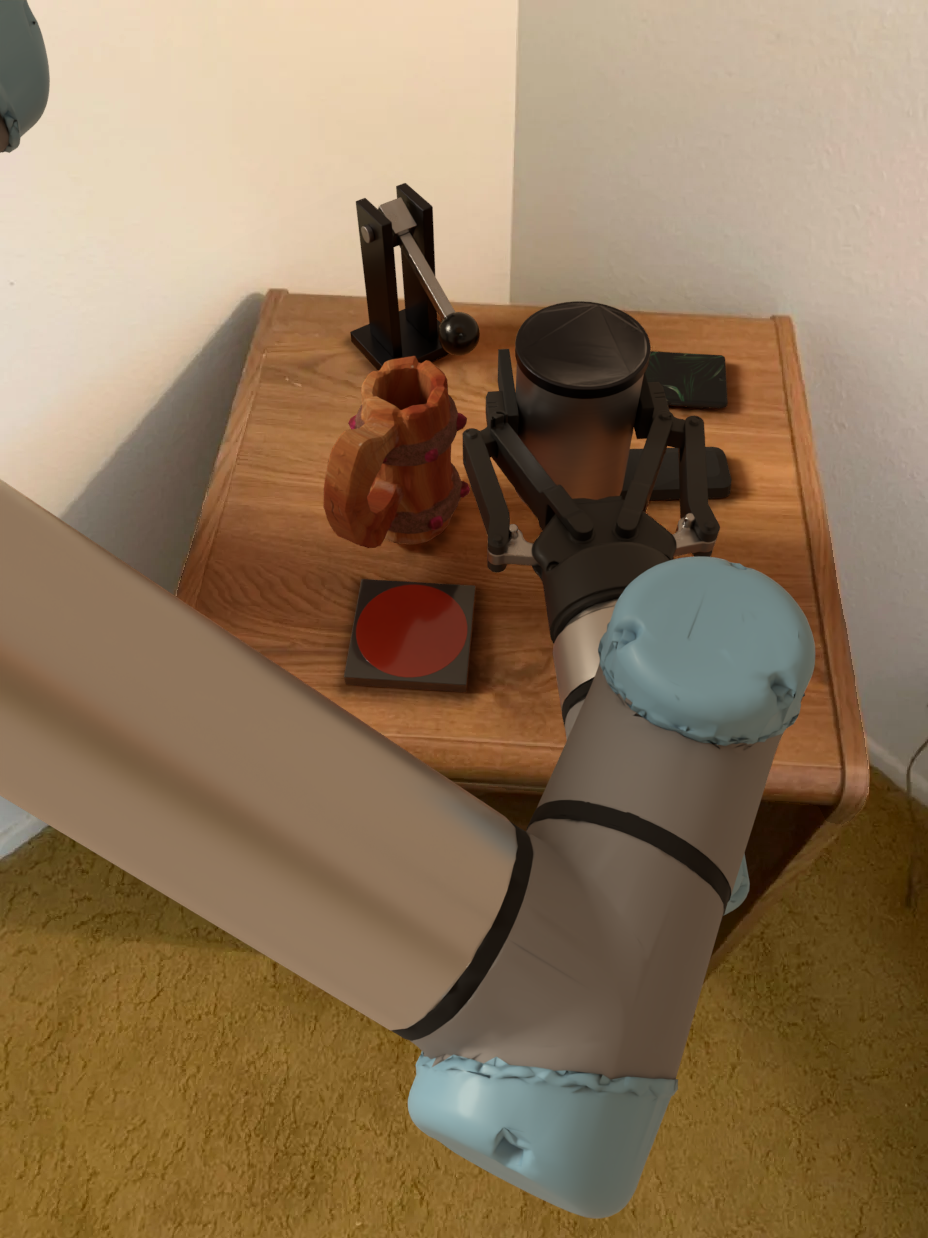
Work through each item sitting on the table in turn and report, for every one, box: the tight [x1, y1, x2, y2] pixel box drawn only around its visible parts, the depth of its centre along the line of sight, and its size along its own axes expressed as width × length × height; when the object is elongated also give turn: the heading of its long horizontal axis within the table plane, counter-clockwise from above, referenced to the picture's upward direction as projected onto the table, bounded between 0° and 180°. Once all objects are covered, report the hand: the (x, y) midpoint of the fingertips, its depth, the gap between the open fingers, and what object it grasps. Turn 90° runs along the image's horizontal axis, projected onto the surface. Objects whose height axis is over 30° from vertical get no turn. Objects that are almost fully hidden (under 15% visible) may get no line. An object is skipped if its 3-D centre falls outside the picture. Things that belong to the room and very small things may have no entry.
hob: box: [343, 578, 477, 693], centre depth 70 cm, size 9×9×1 cm
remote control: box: [620, 446, 732, 501], centre depth 79 cm, size 5×2×15 cm
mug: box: [323, 356, 471, 549], centre depth 70 cm, size 15×8×15 cm, turn 151°
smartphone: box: [645, 350, 729, 410], centre depth 86 cm, size 7×1×15 cm
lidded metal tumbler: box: [513, 300, 652, 506], centre depth 62 cm, size 8×8×12 cm
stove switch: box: [349, 182, 450, 371], centre depth 84 cm, size 7×8×15 cm
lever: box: [377, 197, 481, 357], centre depth 79 cm, size 14×4×4 cm, turn 34°
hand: (566, 361), depth 64 cm, fingers closed on lidded metal tumbler, 8 cm apart
